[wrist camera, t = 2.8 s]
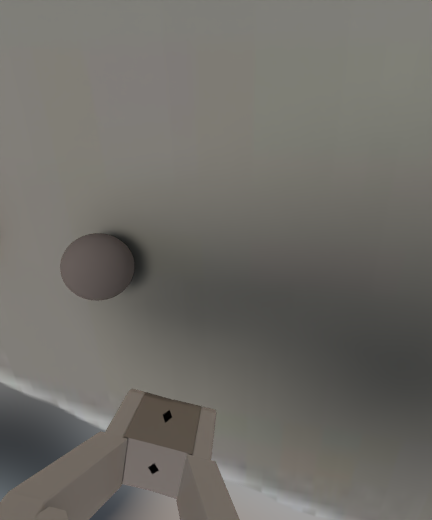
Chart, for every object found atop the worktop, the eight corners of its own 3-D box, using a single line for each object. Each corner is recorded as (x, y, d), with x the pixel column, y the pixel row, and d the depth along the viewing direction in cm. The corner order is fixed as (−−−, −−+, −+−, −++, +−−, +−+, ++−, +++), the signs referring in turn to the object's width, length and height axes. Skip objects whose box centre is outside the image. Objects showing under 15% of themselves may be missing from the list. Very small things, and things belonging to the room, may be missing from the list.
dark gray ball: (148, 236, 20) (115, 250, 15) (141, 291, 21) (110, 320, 17) (90, 223, 20) (41, 232, 16) (88, 278, 22) (42, 302, 17)
